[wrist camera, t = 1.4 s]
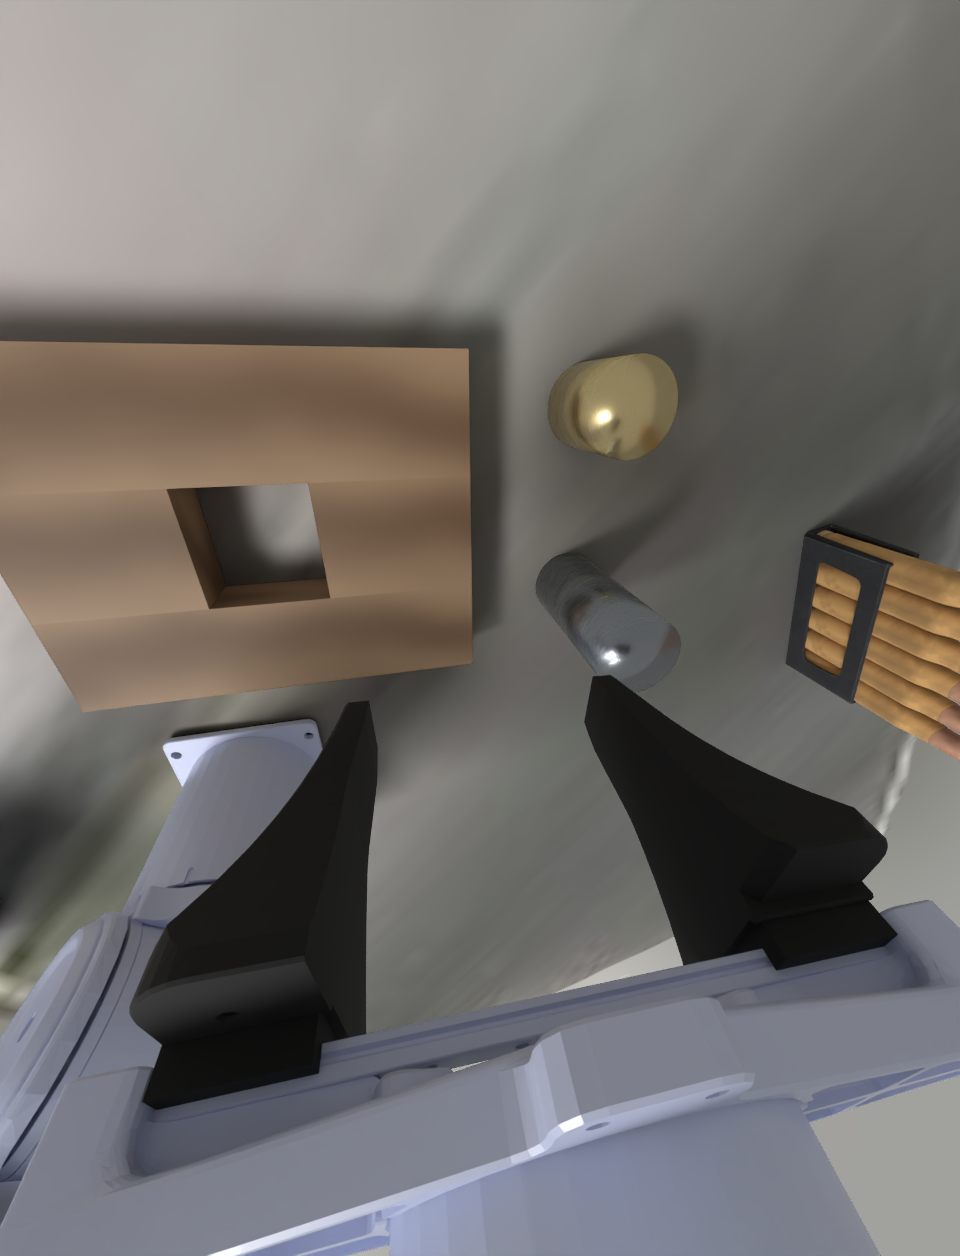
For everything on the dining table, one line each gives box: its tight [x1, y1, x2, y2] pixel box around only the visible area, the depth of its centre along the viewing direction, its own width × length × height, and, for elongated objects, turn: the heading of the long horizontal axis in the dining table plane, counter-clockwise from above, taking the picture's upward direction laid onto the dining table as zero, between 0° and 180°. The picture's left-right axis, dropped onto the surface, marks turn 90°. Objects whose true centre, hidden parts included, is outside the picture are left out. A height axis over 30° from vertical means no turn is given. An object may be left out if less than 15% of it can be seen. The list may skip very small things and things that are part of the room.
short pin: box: [548, 353, 678, 460], centre depth 18 cm, size 4×4×4 cm
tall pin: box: [536, 553, 681, 693], centre depth 21 cm, size 4×4×8 cm
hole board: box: [0, 341, 473, 712], centre depth 18 cm, size 14×18×2 cm
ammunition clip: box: [786, 524, 960, 761], centre depth 24 cm, size 11×2×12 cm, turn 16°
